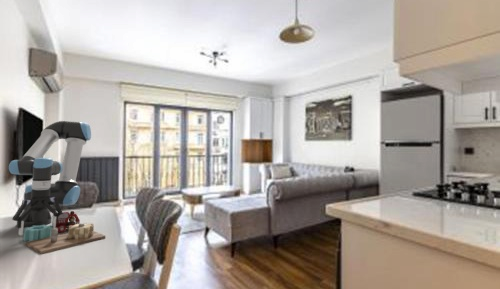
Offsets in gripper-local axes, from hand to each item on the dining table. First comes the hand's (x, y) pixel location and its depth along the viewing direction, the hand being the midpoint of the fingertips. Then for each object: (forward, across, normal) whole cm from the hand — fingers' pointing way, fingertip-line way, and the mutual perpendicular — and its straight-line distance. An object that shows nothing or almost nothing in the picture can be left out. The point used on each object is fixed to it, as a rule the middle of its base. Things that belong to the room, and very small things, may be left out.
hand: (37, 231), depth 134 cm
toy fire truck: (+3, +14, +3) cm, 15 cm away
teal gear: (+3, 0, 0) cm, 3 cm away
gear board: (+3, +7, -15) cm, 17 cm away
